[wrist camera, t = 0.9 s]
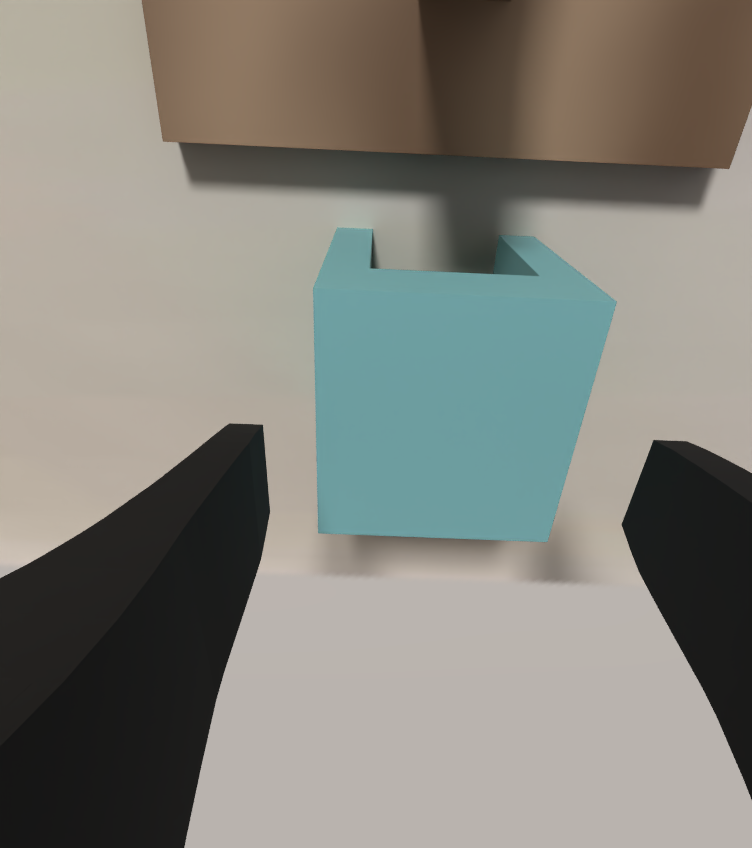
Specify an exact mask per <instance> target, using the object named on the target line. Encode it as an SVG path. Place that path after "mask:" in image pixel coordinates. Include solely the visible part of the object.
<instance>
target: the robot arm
mask: <svg viewBox="0 0 752 848" xmlns="http://www.w3.org/2000/svg"><path fill="white" fill-rule="evenodd" d="M269 514H270V506H269V494H268V482H267V469H266V457H265V445H264V433H263V425H254V424H228V425H227V426H225V427H224V428H223V429H221V430H220V431H219V432H218V433H216V434H215V435H214V436H213V437H211V438H210V439H209V440H208V441H206V442H205V443H204V444H203V445H202V446H200V447H199V448H198V449H197V450H195V451H194V452H193V453H192V454H190V455H189V456H188V457H187V458H185V459H184V460H183V461H182V462H180V463H179V464H178V465H177V466H175V467H174V468H173V469H171V470H170V471H169V472H168V473H166V474H165V475H164V476H162V477H161V478H160V479H159V480H157V481H156V482H155V483H153V484H152V485H150V486H149V487H148V488H146V489H145V490H143V491H142V492H141V493H139V494H138V495H136V496H135V497H134V498H132V499H131V500H129V501H128V502H126V503H125V504H124V505H122V506H121V507H119V508H118V509H117V510H115V511H114V512H112V513H111V514H109V515H108V516H107V517H105V518H104V519H102V520H101V521H99V522H97V523H96V524H94V525H93V526H91V527H90V528H88V529H87V530H85V531H83V532H82V533H80V534H79V535H77V536H75V537H74V538H72V539H70V540H69V541H67V542H65V543H63V544H62V545H60V546H58V547H57V548H55V549H53V550H52V551H50V552H48V553H46V554H45V555H43V556H41V557H40V558H38V559H36V560H34V561H32V562H31V563H29V564H27V565H25V566H23V567H21V568H19V569H17V570H15V571H14V572H12V573H10V574H8V575H6V576H4V577H2V578H0V848H184V846H185V840H186V836H187V831H188V826H189V821H190V817H191V812H192V807H193V803H194V798H195V793H196V788H197V784H198V779H199V774H200V770H201V765H202V760H203V756H204V751H205V747H206V743H207V738H208V734H209V729H210V724H211V720H212V716H213V712H214V707H215V702H216V699H217V695H218V692H219V688H220V684H221V681H222V678H223V674H224V671H225V668H226V664H227V662H228V658H229V655H230V652H231V649H232V646H233V643H234V640H235V637H236V634H237V631H238V628H239V625H240V622H241V619H242V616H243V613H244V610H245V607H246V604H247V601H248V598H249V595H250V592H251V589H252V586H253V582H254V579H255V576H256V573H257V570H258V567H259V564H260V561H261V556H262V551H263V546H264V541H265V536H266V531H267V525H268V520H269ZM622 527H623V530H624V533H625V535H626V538H627V541H628V544H629V547H630V550H631V552H632V555H633V558H634V560H635V563H636V565H637V568H638V570H639V573H640V575H641V576H642V578H643V580H644V582H645V584H646V586H647V588H648V590H649V591H650V593H651V595H652V597H653V599H654V601H655V603H656V604H657V606H658V608H659V610H660V612H661V614H662V616H663V617H664V619H665V621H666V623H667V625H668V626H669V628H670V630H671V632H672V634H673V636H674V637H675V639H676V641H677V643H678V644H679V646H680V648H681V650H682V652H683V654H684V655H685V657H686V659H687V661H688V663H689V664H690V666H691V668H692V670H693V672H694V674H695V675H696V677H697V679H698V681H699V683H700V684H701V686H702V688H703V690H704V692H705V694H706V696H707V698H708V700H709V702H710V704H711V706H712V708H713V710H714V712H715V714H716V716H717V718H718V720H719V723H720V725H721V727H722V730H723V732H724V735H725V737H726V739H727V742H728V744H729V746H730V748H731V751H732V753H733V755H734V758H735V760H736V763H737V764H738V767H739V769H740V772H741V774H742V776H743V779H744V781H745V784H746V786H747V789H748V791H749V794H750V796H751V799H752V473H750V472H748V471H747V470H745V469H743V468H741V467H739V466H737V465H735V464H733V463H732V462H730V461H728V460H726V459H724V458H722V457H720V456H718V455H716V454H714V453H712V452H710V451H708V450H706V449H703V448H701V447H699V446H696V445H694V444H692V443H689V442H687V441H663V440H654V441H653V443H652V446H651V449H650V451H649V454H648V457H647V459H646V462H645V464H644V467H643V470H642V472H641V475H640V478H639V480H638V483H637V485H636V488H635V491H634V493H633V496H632V499H631V501H630V504H629V507H628V509H627V512H626V515H625V517H624V520H623V522H622Z"/></svg>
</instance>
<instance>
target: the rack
mask: <svg viewBox="0 0 752 848" xmlns="http://www.w3.org/2000/svg"><path fill="white" fill-rule="evenodd" d="M142 5H143V12H144V18H145V25H146V32H147V38H148V45H149V52H150V59H151V65H152V72H153V79H154V85H155V92H156V99H157V105H158V112H159V119H160V125H161V132H162V139H163V141H165V142H185V143H206V144H226V145H247V146H268V147H288V148H309V149H329V150H350V151H371V152H391V153H412V154H432V155H453V156H474V157H494V158H515V159H536V160H556V161H577V162H597V163H618V164H639V165H659V166H680V167H700V168H721V169H729V168H730V165H731V162H732V160H733V157H734V154H735V151H736V148H737V146H738V143H739V140H740V137H741V134H742V131H743V129H744V126H745V123H746V120H747V117H748V115H749V112H750V109H751V106H752V0H142Z"/></svg>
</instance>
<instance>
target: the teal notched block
mask: <svg viewBox="0 0 752 848" xmlns="http://www.w3.org/2000/svg"><path fill="white" fill-rule="evenodd" d="M372 235H373V229H358V228H337V230H336V232H335V235H334V237H333V240H332V242H331V245H330V247H329V250H328V252H327V255H326V257H325V260H324V262H323V265H322V267H321V270H320V272H319V275H318V277H317V280H316V282H315V285H314V287H313V302H314V351H315V400H316V448H317V497H318V533H325V534H351V535H377V536H403V537H429V538H455V539H481V540H507V541H533V542H547V541H548V538H549V535H550V531H551V528H552V524H553V521H554V517H555V514H556V510H557V507H558V503H559V500H560V497H561V493H562V490H563V486H564V483H565V479H566V476H567V472H568V469H569V465H570V462H571V458H572V455H573V452H574V448H575V445H576V441H577V438H578V434H579V431H580V427H581V424H582V420H583V417H584V413H585V410H586V407H587V403H588V400H589V396H590V393H591V389H592V386H593V382H594V379H595V375H596V372H597V369H598V365H599V362H600V358H601V355H602V351H603V348H604V344H605V341H606V337H607V334H608V330H609V327H610V324H611V320H612V317H613V313H614V310H615V306H616V303H617V302H616V301H615V300H614V299H613V298H611V297H610V296H609V295H608V294H606V293H605V292H604V291H602V290H601V289H600V288H599V287H597V286H596V285H595V284H594V283H592V282H591V281H590V280H588V279H587V278H586V277H585V276H583V275H582V274H581V273H580V272H578V271H577V270H576V269H574V268H573V267H572V266H571V265H569V264H568V263H567V262H566V261H564V260H563V259H562V258H561V257H559V256H558V255H557V254H555V253H554V252H553V251H552V250H550V249H549V248H548V247H547V246H545V245H544V244H543V243H541V242H540V241H539V240H538V239H536V238H535V237H530V236H509V235H499V239H498V245H497V252H496V258H495V264H494V270H493V274H479V273H457V272H435V271H413V270H391V269H371V262H372Z"/></svg>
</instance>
